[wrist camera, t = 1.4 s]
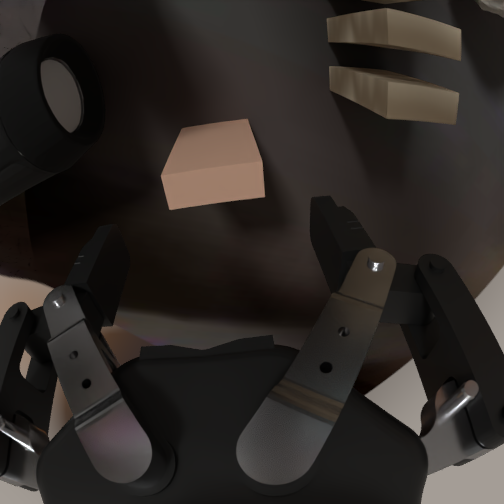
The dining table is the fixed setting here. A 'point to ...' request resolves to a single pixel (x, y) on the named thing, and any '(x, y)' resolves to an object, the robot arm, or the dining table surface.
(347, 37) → the tile
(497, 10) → the fossil replica
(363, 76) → the tile
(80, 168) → the dining table surface
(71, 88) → the portable speaker
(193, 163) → the tile
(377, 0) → the tile
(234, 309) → the dining table surface
